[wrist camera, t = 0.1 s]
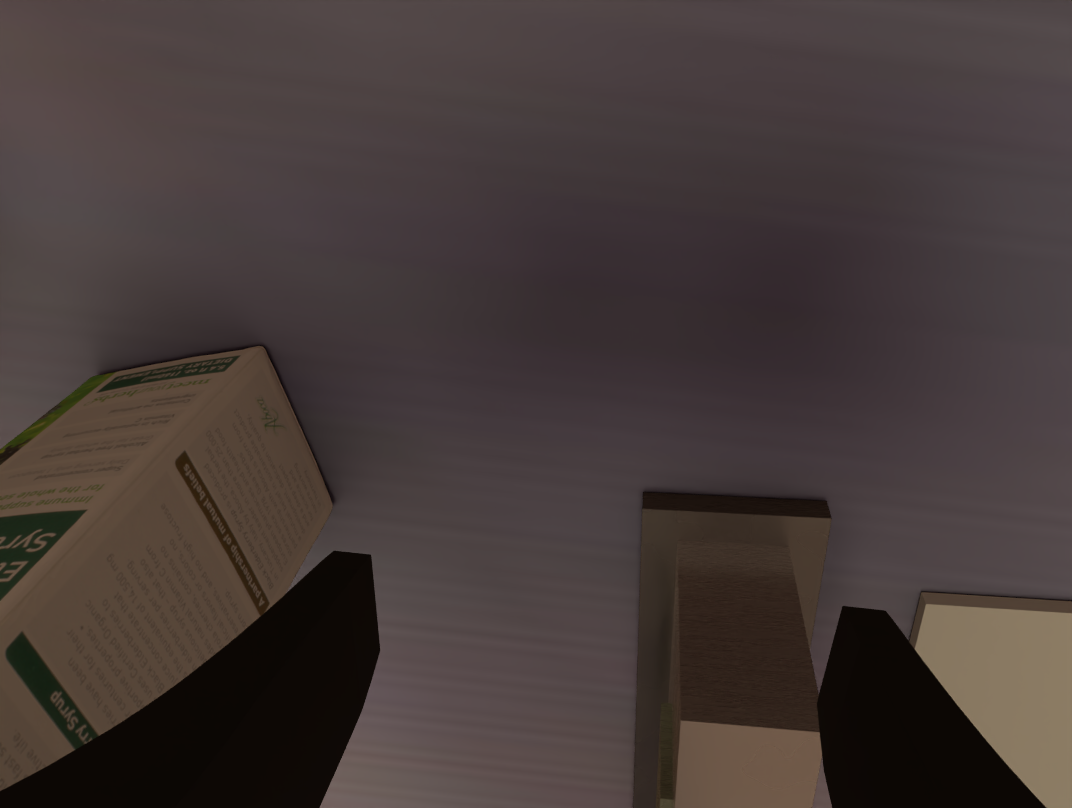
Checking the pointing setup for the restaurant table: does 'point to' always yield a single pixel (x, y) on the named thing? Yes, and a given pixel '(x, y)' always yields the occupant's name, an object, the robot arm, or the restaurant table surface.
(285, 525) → the syrup box
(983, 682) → the pad
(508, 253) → the restaurant table surface
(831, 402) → the restaurant table surface
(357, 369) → the restaurant table surface
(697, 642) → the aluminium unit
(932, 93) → the restaurant table surface
